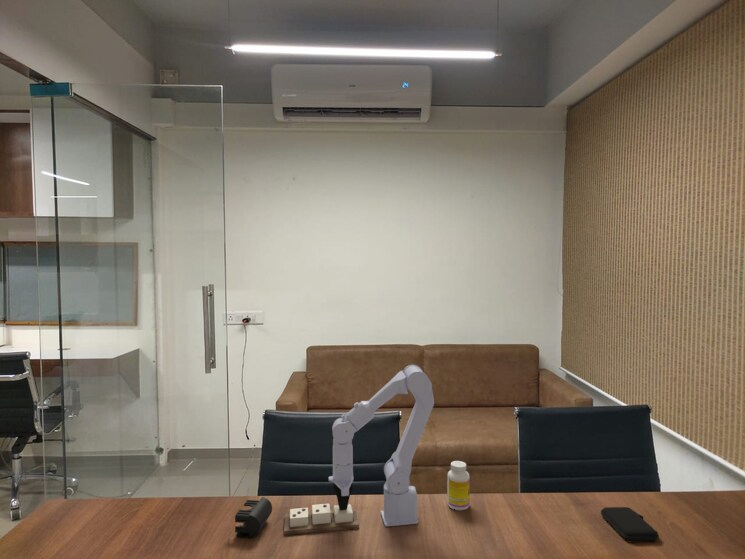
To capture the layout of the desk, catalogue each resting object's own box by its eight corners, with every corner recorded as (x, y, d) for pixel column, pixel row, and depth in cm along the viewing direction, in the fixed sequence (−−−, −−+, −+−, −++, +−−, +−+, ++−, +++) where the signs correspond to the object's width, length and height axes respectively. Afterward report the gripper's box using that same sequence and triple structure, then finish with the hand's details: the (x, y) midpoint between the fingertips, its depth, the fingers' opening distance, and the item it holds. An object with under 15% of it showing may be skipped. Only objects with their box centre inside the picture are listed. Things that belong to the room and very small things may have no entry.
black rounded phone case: (666, 544, 123) (633, 514, 138) (666, 533, 123) (634, 504, 138) (626, 545, 123) (597, 515, 137) (626, 534, 123) (598, 505, 137)
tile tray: (355, 512, 139) (355, 508, 139) (358, 528, 130) (358, 524, 130) (285, 518, 136) (285, 513, 136) (284, 535, 127) (284, 531, 127)
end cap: (260, 541, 125) (259, 516, 124) (234, 539, 125) (234, 514, 125) (272, 520, 134) (272, 497, 134) (249, 518, 135) (248, 495, 135)
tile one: (350, 514, 137) (350, 503, 136) (352, 523, 132) (352, 512, 132) (333, 515, 136) (333, 504, 136) (335, 525, 131) (334, 513, 131)
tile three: (307, 517, 135) (307, 506, 135) (308, 527, 130) (308, 516, 130) (290, 519, 134) (290, 508, 134) (289, 529, 129) (289, 517, 129)
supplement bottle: (471, 511, 139) (472, 468, 139) (449, 511, 139) (449, 468, 138) (466, 499, 146) (467, 459, 145) (445, 500, 146) (445, 459, 145)
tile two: (329, 513, 136) (329, 502, 136) (330, 523, 131) (330, 511, 131) (312, 515, 135) (312, 504, 135) (312, 524, 130) (312, 513, 130)
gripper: (327, 452, 140) (327, 497, 140) (330, 474, 125) (330, 523, 126) (350, 451, 141) (350, 495, 141) (356, 472, 126) (356, 521, 127)
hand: (343, 508), depth 134 cm, fingers closed, pressing on tile one
